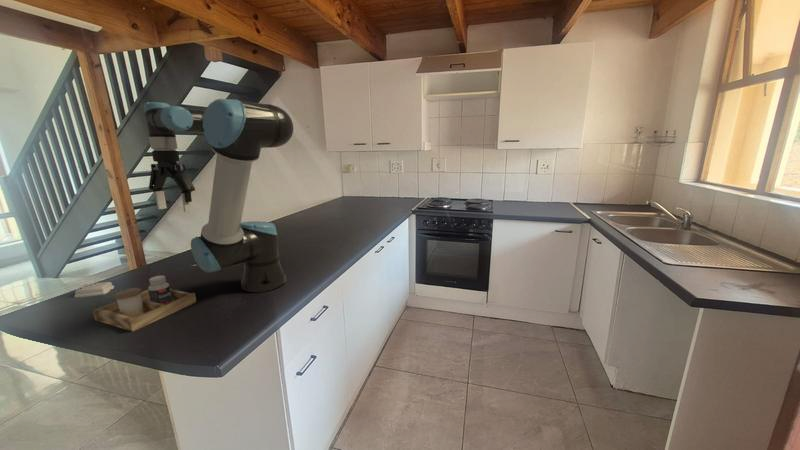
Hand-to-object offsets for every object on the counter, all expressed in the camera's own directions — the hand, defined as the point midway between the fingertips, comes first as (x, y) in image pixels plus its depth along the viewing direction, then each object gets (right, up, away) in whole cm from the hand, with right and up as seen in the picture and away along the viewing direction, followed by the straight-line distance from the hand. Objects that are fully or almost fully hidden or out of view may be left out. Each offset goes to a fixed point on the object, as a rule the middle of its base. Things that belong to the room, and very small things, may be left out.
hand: (175, 210), depth 114 cm
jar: (+4, -32, -23) cm, 40 cm away
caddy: (+6, -32, -19) cm, 38 cm away
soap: (-25, -29, -5) cm, 39 cm away
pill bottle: (+7, -31, -16) cm, 35 cm away
